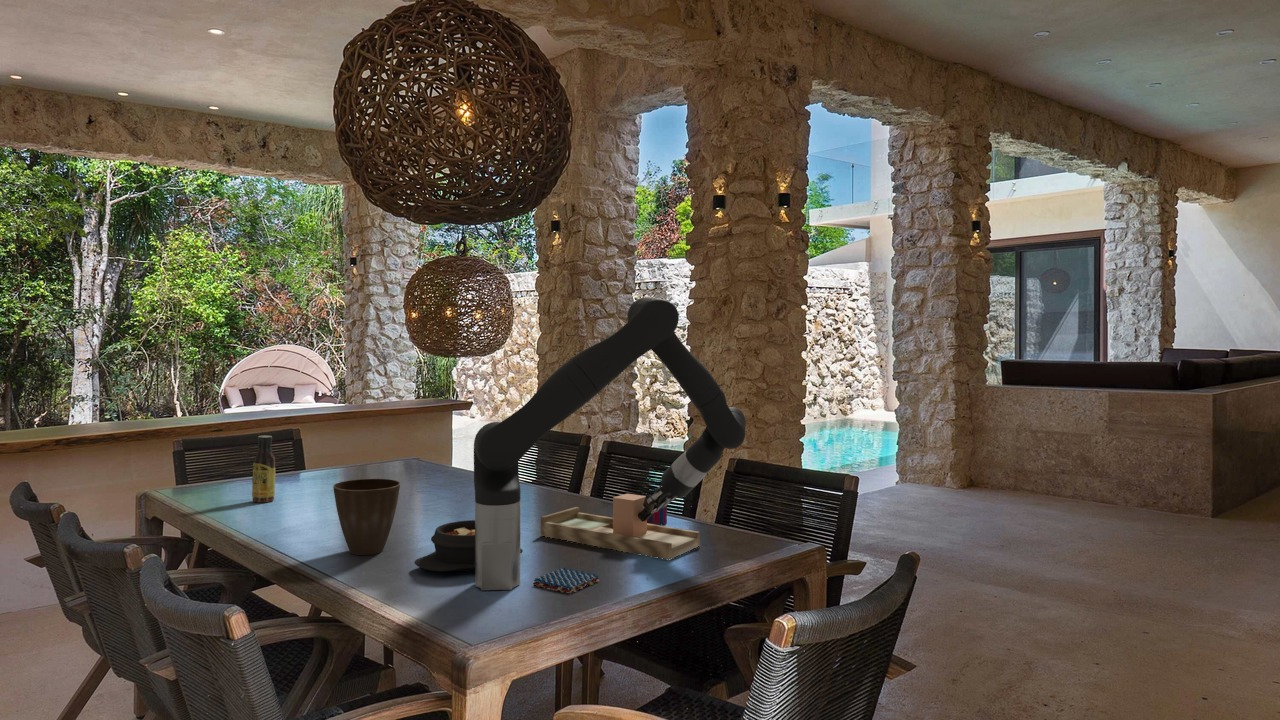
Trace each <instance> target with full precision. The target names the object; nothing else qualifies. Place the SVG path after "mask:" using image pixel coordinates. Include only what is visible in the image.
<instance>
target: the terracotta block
mask: <svg viewBox="0 0 1280 720" xmlns="http://www.w3.org/2000/svg"><path fill="white" fill-rule="evenodd" d="M646 496H647V495H639V494H632V493H624V494H621V495H617V496H615V497H614V496H613V497H612V499H613V500H612V518H613V533H615V534H621V535H627V536H632V537H636V536H639V535H641V534H644V533H647V520H646V521H644V522H642V521H641V520H640V518H639V517H638V514H639V513H640V512H641V511H642V510H643V509H644V508H645V507H644V506H643V503H644V500H645V497H646Z"/></svg>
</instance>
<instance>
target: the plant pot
mask: <svg viewBox="0 0 1280 720" xmlns="http://www.w3.org/2000/svg"><path fill="white" fill-rule="evenodd" d="M400 487H401V482H400V481H398V480H396V479H391V478H389V479H387V478H359V479H358V478H357V479H350V480H344V481H343V480H342V481H340V482H337V483H335V484H334V485H333V486H332V489H333V494H334V495H333V496H334V501H335V502H334V503H335V507H336V512H337V516H338V520H339V525H340V528H341V530H342V531H341V532H342V535H343V537H344V540H345V543H346V545H347V547H348V550H349V553H350V554H352V555H355V556H372V555H377V554H379V553H382V552H383V551H384V549H385V546H386V543H387V541H388V538H389V535H390V532H391V529H392V526H393V524H394V523H393V522H394V518H395V514H396V510H397V505H398V501H399V495H400Z"/></svg>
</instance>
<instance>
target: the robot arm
mask: <svg viewBox="0 0 1280 720" xmlns="http://www.w3.org/2000/svg"><path fill="white" fill-rule="evenodd" d="M626 316H627V317H626V318H627V319H626V320H627V322H626V323H625V324H624V325H623V326H622V327H621V328H620V329H618V330H617V331H616V332H614V333H613V334H612V335H610V336H609V337H607V338H605V339H602V340H600V341H599V342H597V343H595V344H593V345H591V346H588V347H587V348H584V349H583V350H581V351H580V352H578V353H577V354H575V355H573V357H571V358H570V359H568V360H567V361H566V362H565V363H564V364H562V365H561V366H560V367H559V368H557V369H556V370H555V371H554V372H553V373H552V374H551V375H549V377H548V378H547V379H546V380H545V381H544V383H543V384H542V385H540V387H539V388H538V389H537V391H536V392H535V393H534V395H532V396H531V398H530V399H529V400H527V402H526V403H525V404H524V405H523V406H522V407H520V408H519V409H518V410H516V411H514V413H512V414H511V415H510V416H508V417H506V418H505V419H504V420H502V421H491V422H489V423H486V424H484V425H483V426H482V427H481V428H479V430H478V431H477V433H476V434H475V436H474V442H473V487H474V520H475V571H474V584H475V587H476V588H479V589H480V591H503V590H504V591H507V590H513V588H515V587H517V586H519V585H520V584H521V554H520V548H521V494H522V493H521V492H522V491H521V484H520V483H521V482H520V475H519V461H520V460H521V459H522V458H524V456H525V455H526V454H527V453H528V452H529V451H530V450H531V448H533V447H534V446H535V445H536V443H537V442H539V441H540V440H541V438H543V437H544V435H546V434H547V433H548V432H549V431H552V429H553V428H555V427H556V426H558V425H559V424H561V423H562V422H563V421H565V420H566V419H567V418H568V417H570V416H571V415H572V414H574V413H575V412H576V411H578V410H580V408H582V407H584V405H585V404H587V403H588V402H590V401H591V400H592V399H593V398H595V397H596V395H598V394H599V393H600V392H601V391H602V390H603V389H605V387H607V386H608V385H609V384H611V382H613V381H614V380H615V379H616V378H617V377H618V376H620V375H621V374H622V373H623V372H624V371H625V370H626V369H627V368H628V367H629V366H631V365H632V364H633V363H634V362H636V361H637V360H638V359H640V358H641V357H642V356H643V355H645V354H646V353H648V352H649V351H652V352H653V354H655V355H656V356H657V358H658V359H659V360H660V361H661V362H662V363H663V364H664V366H665V368H667V370H668V371H669V372H670V374H671V375H672V376H673V377H674V379H675V380H676V382H677V383H678V385H679V386H680V387H681V389H682V390H683V391H684V393H685V395H686V396H687V397H688V399H689V400H690V401H691V403H692V404H693V405H694V407H695V408H696V410H698V412H699V413H700V415H701V417H702V420H703V422H704V423H705V428H704V430H703V431H702V433H701V435H699V436H698V439H696V440H695V441H694V442H693V443H692V444H691V445H690V447H688V449H687V450H685V451H684V452H683V453H682V454H680V455H679V456H678V457H677V458H676V459H675V460H674V461H673V463H671V465H670V466H669V467H668V468H666V470H665V471H664V472H663V473H662V474H661V478H660V479H661V483H662V485H658V486H657V488H656V489H655V490H654V492H653V493H652V494H650V493H649V494H647V495H645V496H646V497H645V500H644V503H643V506H644V507H645V508H644V509H643V510H642V511H641V512H640V513H639V514H638V517H639V518H640V520H641V521H642V522H644V521H646V520H648V519H649V518H650V517H651V516H652V515H653V514H654V513H655V512H657V511H658V510H659V509H663V508H664V507H665V506H667V507H668V506H669V504H671V503H672V502H674V501H675V500H676V499H677V498H678V499H679V498H682V499H683V498H684V497H685V498H686V497H687V496H688V495H689V493H691V491H692V490H694V488H695V487H696V486H697V485H698V484H699V483H701V481H702V480H703V479H704V478H705V477H706V475H707V474H708V473H709V472H710V470H711V469H713V467H715V465H716V464H717V463H718V462H719V461H720V460H721V458H722V456H723V453H724V451H725V449H728V450H734V449H737V448H740V447H741V445H742V444H743V443H744V441H745V438H746V427H747V426H746V425H747V424H746V417H745V414H744V413H743V411H742V410H741V409H739V408H737V407H735V406H728V403H727V398H726V395H725V392H724V390H723V389H722V388H721V386H720V385H719V383H718V382H717V381H716V379H715V378H714V376H713V375H712V373H710V371H709V370H708V369H707V368H706V367H705V366H704V364H703V363H702V362H701V361H700V360H698V358H696V357H695V355H694V354H693V353H692V352H690V350H689V349H688V348H687V346H685V345H684V343H683V342H682V341H681V340H680V338H679V337H678V336H677V334H676V332H675V331H676V330H677V328H678V325H679V321H680V319H679V318H680V315H679V311H678V309H677V307H676V306H675V305H674V304H673V302H670V301H669V300H666V299H664V298H660V297H653V296H651V297H649V296H646V297H645V296H644V297H641V298H638V299H635V300H634V301H633V302H632V303H631V305H630V306H629V308H628V311H627V315H626Z"/></svg>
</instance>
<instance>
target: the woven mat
mask: <svg viewBox="0 0 1280 720" xmlns="http://www.w3.org/2000/svg"><path fill="white" fill-rule="evenodd" d="M533 581H534V582H532V585H536V586H538V587H537V588H540V587H544V588H543V589H545V588H550V589H554V590H557V591H556V592H558V591H562V592H561V593H563V592H569V593H574V592H575V593H577V591H576V590H579V589H582V590H583V589H584V588H583V587H585V586H586V585H587V586H588V585H589V586H592V585H594V584H593V583H596V582H598V583H599V582H600V578H599V575H596V573H592V574H591V573H590V572H584V571H582V570H581V571H578V570H577V569H575V570H572V568H568V569H566V567H562V568H558V569H557V570H553V571H552V572H548V573H546V574H543V575H540V576H539V577H535V578H534V580H533ZM594 581H595V582H594ZM536 586H535V587H536ZM561 587H562V588H561ZM578 588H579V589H578ZM550 589H549V590H550ZM554 590H553V591H554Z"/></svg>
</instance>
